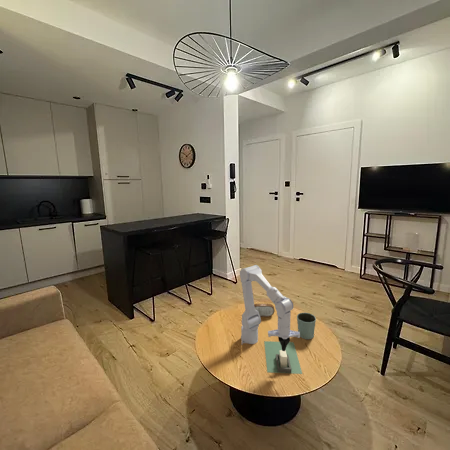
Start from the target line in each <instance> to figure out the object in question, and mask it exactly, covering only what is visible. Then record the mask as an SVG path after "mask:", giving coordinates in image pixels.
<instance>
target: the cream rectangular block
mask: <svg viewBox="0 0 450 450" xmlns="http://www.w3.org/2000/svg"><path fill="white" fill-rule="evenodd" d="M279 362H280V367H284V368H287V354H286V350H285V351H282V350H280V351H279Z"/></svg>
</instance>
